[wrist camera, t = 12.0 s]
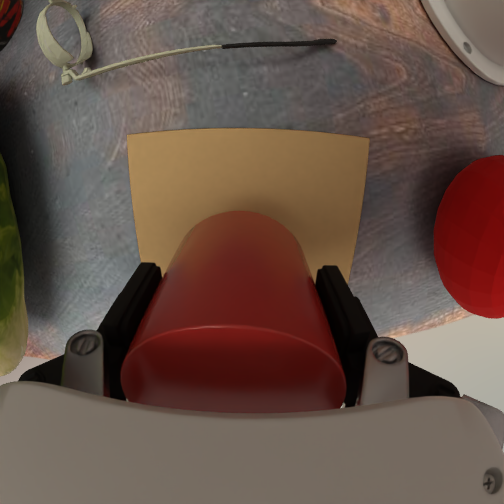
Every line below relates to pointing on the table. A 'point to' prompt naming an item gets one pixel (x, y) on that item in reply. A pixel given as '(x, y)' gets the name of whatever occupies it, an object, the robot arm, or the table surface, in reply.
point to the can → (236, 326)
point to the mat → (249, 187)
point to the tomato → (473, 237)
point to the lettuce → (10, 283)
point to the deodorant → (9, 19)
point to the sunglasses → (62, 57)
